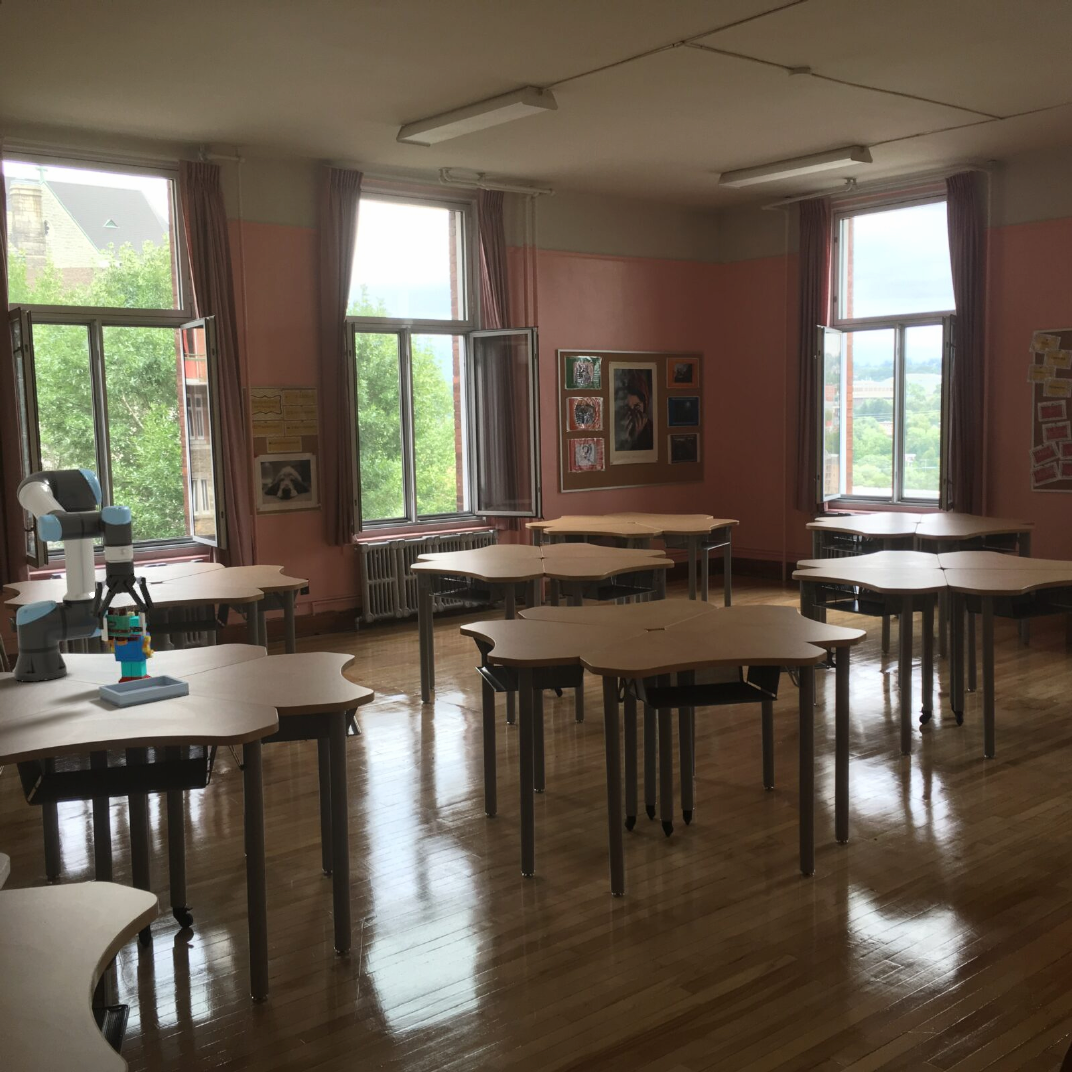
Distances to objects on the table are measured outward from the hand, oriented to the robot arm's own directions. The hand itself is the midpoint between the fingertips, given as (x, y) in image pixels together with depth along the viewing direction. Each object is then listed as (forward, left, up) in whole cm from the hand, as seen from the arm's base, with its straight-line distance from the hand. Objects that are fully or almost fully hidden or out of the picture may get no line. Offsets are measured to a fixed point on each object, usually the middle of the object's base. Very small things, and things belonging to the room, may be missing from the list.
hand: (124, 637), depth 309 cm
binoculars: (0, 0, -2) cm, 2 cm away
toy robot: (-15, +9, -18) cm, 25 cm away
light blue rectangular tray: (+1, +5, -18) cm, 19 cm away
